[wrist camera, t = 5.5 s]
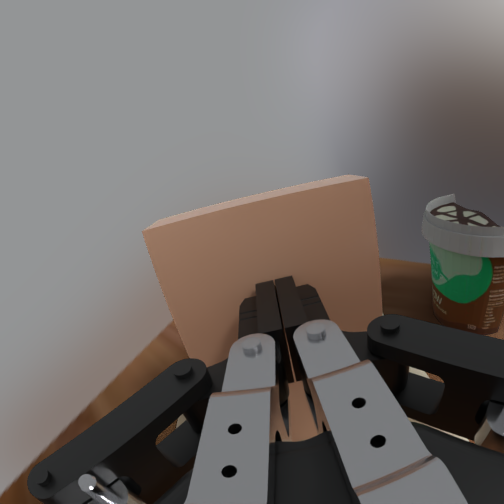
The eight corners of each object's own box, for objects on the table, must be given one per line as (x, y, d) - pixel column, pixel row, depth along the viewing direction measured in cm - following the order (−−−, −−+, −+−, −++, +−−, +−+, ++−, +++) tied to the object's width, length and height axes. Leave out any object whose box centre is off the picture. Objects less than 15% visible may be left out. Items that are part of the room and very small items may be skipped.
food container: (406, 289, 29) (401, 200, 26) (452, 279, 28) (451, 193, 25) (447, 361, 18) (461, 240, 15) (504, 341, 16) (524, 227, 13)
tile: (367, 392, 17) (347, 174, 13) (379, 419, 14) (368, 177, 10) (236, 420, 17) (160, 218, 13) (235, 450, 15) (141, 231, 11)
